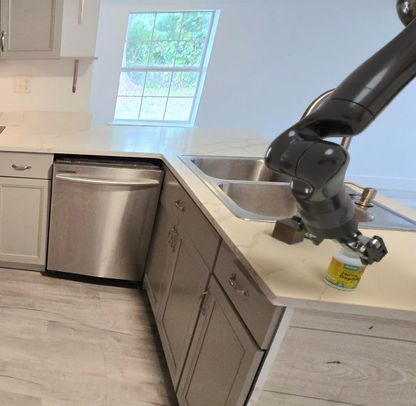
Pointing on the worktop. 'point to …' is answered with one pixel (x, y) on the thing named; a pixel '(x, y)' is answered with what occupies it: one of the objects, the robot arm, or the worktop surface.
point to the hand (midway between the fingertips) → (342, 251)
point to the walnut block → (287, 232)
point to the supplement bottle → (345, 270)
